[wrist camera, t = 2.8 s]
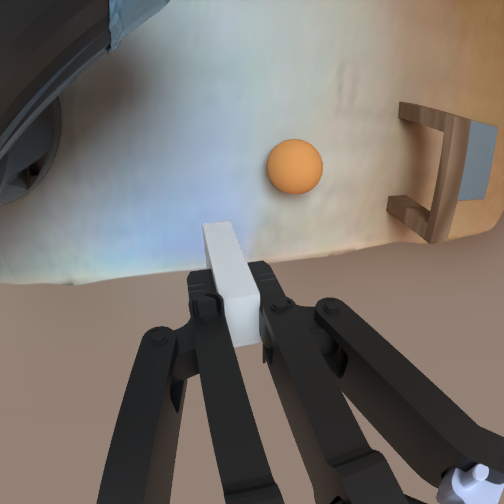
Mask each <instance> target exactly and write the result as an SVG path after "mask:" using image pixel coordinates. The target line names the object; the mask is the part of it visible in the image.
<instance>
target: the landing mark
mask: <svg viewBox="0 0 504 504" xmlns="http://www.w3.org/2000/svg"><path fill="white" fill-rule="evenodd" d="M497 129H498V127H495V126H491V125H487V124H483V123H479V122H475V121H471V126H470V133H469V141H468V147H467V154H466V160H465V165H464V171H463V176H462V181H461V186H460V190H459V195H458V199H457V200H473V199H484V198H485V194H486V189H487V185H488V181H489V176H490V171H491V166H492V161H493V155H494V149H495V143H496V136H497Z"/></svg>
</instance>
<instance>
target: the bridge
mask: <svg viewBox="0 0 504 504" xmlns="http://www.w3.org/2000/svg"><path fill="white" fill-rule="evenodd" d="M398 117H399V118H402V119H406V120H409V121H412V122H415V123H418V124H422V125H425V126H428V127H431V128H434V129H436V130H439V131H442V132H444V137H443V145H442V152H441V158H440V164H439V170H438V176H437V181H436V187H435V192H434V197H433V202H432V206H431V211H429V210H427V209H426V208H424V207H423V206H421V205H420V204H418V203H417V202H415V201H414V200H412V199H411V198H409V197H408V196H406V195H401V196H389V198H388V204H387V211H388V212H390V213H391V214H392V215H394V216H395V217H396V218H397V219H399V220H400V221H401V222H403V223H404V224H405V225H407V226H408V227H409V228H410V229H412V230H413V231H414V232H416V233H417V234H418V235H419V236H421V237H422V238H423V239H424V240H425V241H427V242H428V243H429V244H434V243H439V242H444V241H447V238H448V235H449V231H450V227H451V224H452V220H453V216H454V212H455V208H456V204H457V199H458V195H459V190H460V186H461V181H462V176H463V171H464V165H465V160H466V154H467V147H468V141H469V133H470V126H471V120H470V119H467V118H464V117H460V116H457V115H454V114H450V113H447V112H444V111H440V110H436V109H433V108H429V107H425V106H421V105H417V104H411V103H405V102H399V116H398Z"/></svg>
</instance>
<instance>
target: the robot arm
mask: <svg viewBox="0 0 504 504" xmlns="http://www.w3.org/2000/svg"><path fill="white" fill-rule="evenodd" d="M169 1H170V0H0V205H3V204H7V203H10V202H13V201H15V200H17V199H19V198H20V197H22V196H23V195H25V194H26V193H27V192H28V191H30V190H31V189H32V188H33V187H34V186H35V185H36V184H37V183H38V182H39V181H40V180H41V179H42V178H43V176H44V175H45V174H46V172H47V171H48V169H49V167H50V166H51V164H52V162H53V159H54V157H55V154H56V151H57V148H58V145H59V140H60V133H61V112H60V105H59V101H58V97H57V96H58V95H59V94H60V93H61V92H62V91H63V90H64V89H65V88H66V87H67V86H68V85H69V84H70V83H71V82H72V81H73V80H75V79H76V78H77V77H78V76H79V75H80V74H81V73H82V72H83V71H85V70H86V69H87V68H88V67H89V66H90V65H91V64H93V63H94V62H95V61H96V60H97V59H99V58H100V57H101V56H102V55H103V54H105V53H108V54H110V53H111V52H112V51H114V50H115V49H116V48H117V47H118V46H119V43H120V40H121V39H123V38H124V37H125V36H126V35H128V34H129V33H130V32H132V31H133V30H134V29H135V28H137V27H138V26H139V25H141V24H142V23H143V22H145V21H146V20H148V19H149V18H150V17H152V16H153V15H155V14H156V13H157V12H159V11H160V10H161V9H163V8H164V7H165V6H166V5H167V4H168V2H169ZM202 226H203V236H204V246H205V255H206V264H207V269H206V270H199V271H192V272H190V273H189V275H188V277H187V284H188V293H189V310H190V315H191V318H190V320H189V321H188V323H187V324H186V325H184V326H183V327H181V328H179V329H177V330H174V331H173V330H172V329H170V328H168V327H163V326H161V327H155V328H152V329H150V330H148V331H147V332H146V333H145V334H144V336H143V338H142V340H141V344H140V346H139V349H138V352H137V355H136V358H135V362H134V365H133V368H132V371H131V374H130V378H129V381H128V384H127V387H126V391H125V394H124V397H123V401H122V404H121V408H120V411H119V415H118V418H117V422H116V426H115V429H114V433H113V436H112V440H111V444H110V448H109V452H108V456H107V460H106V464H105V468H104V473H103V476H102V481H101V485H100V490H99V494H98V499H97V504H169V503H170V495H171V487H172V480H173V473H174V465H175V458H176V451H177V444H178V437H179V430H180V423H181V417H182V411H183V404H184V398H185V392H186V386H187V379H188V378H190V377H192V376H194V375H196V374H199V373H200V378H201V384H202V390H203V396H204V401H205V407H206V412H207V417H208V423H209V427H210V432H211V437H212V442H213V447H214V451H215V456H216V461H217V465H218V469H219V474H220V478H221V483H222V486H223V492H224V498H225V502H226V504H284V501H283V498H282V495H281V492H280V490H279V488H278V485H277V484H276V483H275V481H274V479H273V477H272V473H271V471H270V467H269V464H268V461H267V458H266V455H265V452H264V448H263V445H262V442H261V439H260V436H259V432H258V429H257V426H256V423H255V419H254V416H253V413H252V409H251V406H250V403H249V399H248V396H247V393H246V389H245V386H244V382H243V379H242V375H241V372H240V368H239V364H238V361H237V357H236V354H235V351H234V348H235V347H240V346H245V345H251V344H257V343H260V336H261V339H262V342H263V363H265V361H266V362H267V364H268V367H269V370H270V373H271V375H272V378H273V381H274V384H275V387H276V389H277V392H278V395H279V398H280V400H281V403H282V406H283V408H284V411H285V414H286V417H287V419H288V422H289V425H290V427H291V430H292V433H293V436H294V438H295V441H296V443H297V446H298V449H299V452H300V454H301V457H302V460H303V462H304V465H305V467H306V470H307V473H308V475H309V478H310V480H311V483H312V486H313V489H314V498H315V502H316V504H427V503H424V502H422V501H420V500H417V499H415V498H412V497H410V496H408V495H405V494H404V493H403V492H402V490H401V488H400V486H399V484H398V482H397V480H396V478H395V476H394V474H393V472H392V470H391V468H390V466H389V464H388V463H387V460H386V459H385V457H384V456H383V454H381V453H380V452H379V451H376V450H373V449H372V448H371V447H370V446H369V444H368V442H367V440H366V438H365V436H364V435H363V433H362V431H361V429H360V427H359V425H358V423H357V421H356V419H355V417H354V415H353V413H352V411H351V409H350V407H349V405H348V403H347V401H346V399H345V397H344V395H343V394H342V392H343V393H344V394H345V395H346V396H347V398H348V399H349V400H350V401H351V402H352V403H353V404H354V405H355V406H356V408H357V409H358V410H359V411H360V412H361V413H362V414H363V416H364V417H365V418H366V419H367V420H368V421H369V422H370V423H371V424H372V425H373V427H374V428H375V429H376V430H377V431H378V432H379V433H380V434H381V435H382V436H383V438H384V439H385V440H386V441H387V442H388V443H389V444H390V445H391V446H392V447H393V448H394V450H395V451H396V452H397V453H398V454H399V455H400V456H401V457H402V458H403V459H404V460H405V461H406V462H407V464H408V465H409V466H410V467H411V468H412V469H413V470H414V471H415V472H416V473H417V474H418V475H419V476H420V477H421V478H422V479H424V480H425V481H427V482H428V483H429V484H431V485H432V486H434V487H436V488H438V493H437V496H436V499H437V501H438V503H440V504H498V501H499V499H500V496H501V493H502V491H503V488H504V437H502V436H500V435H498V434H496V433H493V432H491V431H489V430H487V429H484V428H482V427H480V426H478V425H477V424H476V423H475V422H474V421H473V420H472V419H471V418H470V417H469V416H468V415H467V414H465V412H464V411H463V410H461V409H460V408H459V407H458V406H457V405H456V404H455V403H454V402H453V401H452V400H451V399H450V398H449V397H448V396H447V395H445V394H444V393H443V392H442V391H441V390H440V389H439V388H438V387H437V386H436V385H434V383H433V382H431V381H430V380H429V379H428V378H427V377H426V376H425V375H424V374H423V373H422V372H421V371H419V370H418V369H417V368H416V367H415V366H414V365H413V364H412V363H411V362H410V361H409V360H408V359H406V358H405V357H404V356H403V355H402V354H401V353H400V352H399V351H398V350H396V349H395V348H394V347H393V346H392V345H391V344H390V343H389V342H388V341H386V340H385V339H384V338H383V337H382V336H381V335H380V334H379V333H378V332H377V331H375V330H374V329H373V328H372V327H371V326H370V325H369V324H368V323H366V322H365V321H364V320H363V319H362V318H361V317H360V316H359V315H358V314H356V313H355V312H354V311H353V310H352V309H351V308H350V307H349V306H347V305H346V304H345V303H344V302H342V301H341V300H339V299H336V298H323V299H321V300H319V301H318V302H317V304H316V306H315V307H305V306H299V305H296V304H295V302H294V301H293V300H292V299H290V298H288V297H286V296H285V294H284V292H283V290H282V288H281V286H280V284H279V282H278V280H277V279H276V276H275V274H274V273H273V271H272V269H271V267H270V265H268V264H267V263H266V262H264V261H257V262H250V263H247V262H246V259H245V257H244V254H243V252H242V250H241V247H240V245H239V242H238V240H237V237H236V235H235V233H234V230H233V228H232V225H231V223H230V220H229V221H221V222H213V223H205V224H202ZM341 391H342V392H341Z"/></svg>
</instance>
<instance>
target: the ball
mask: <svg viewBox="0 0 504 504" xmlns="http://www.w3.org/2000/svg"><path fill="white" fill-rule="evenodd" d="M267 171H268V175H269V178H270V180H271V181H272V183H273V184H274V185H275V186H276V187H277V188H278V189H280V190H281V191H283V192H286V193H289V194H302V193H305V192H308V191H310V190H311V189H313V188H314V187H315V186H316V185H317V184H318V182H319V180H320V179H321V176H322V172H323V162H322V159H321V156H320V154H319V152H318V151H317V150H316V148H315V147H314V146H312V145H311V144H309V143H308V142H306V141H303V140H298V139H291V140H286V141H283V142H281V143H280V144H278V145H277V146H276V147H275V148H274V149H273V150H272V151H271V153H270V155H269V158H268V162H267Z"/></svg>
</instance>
